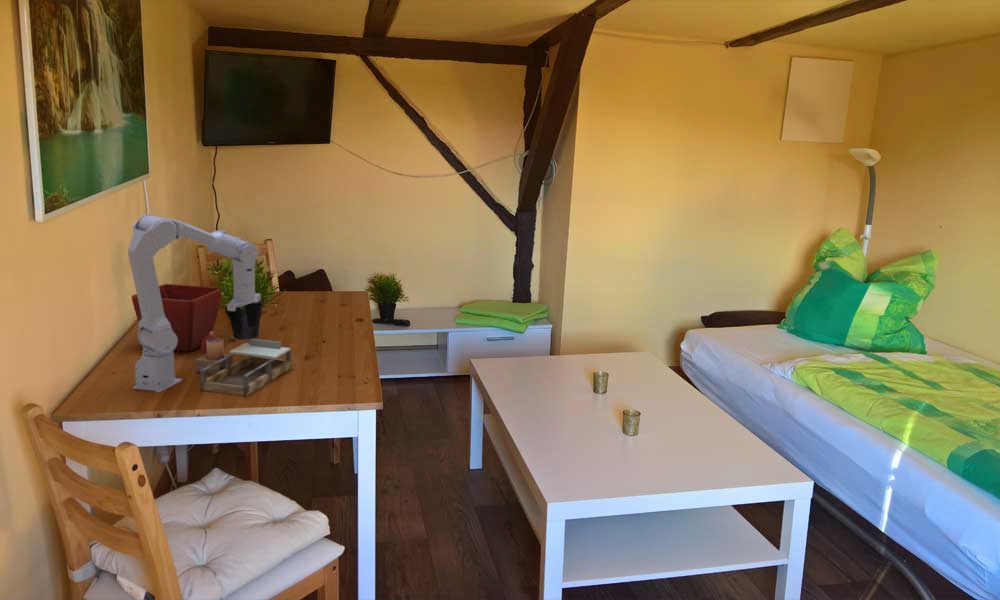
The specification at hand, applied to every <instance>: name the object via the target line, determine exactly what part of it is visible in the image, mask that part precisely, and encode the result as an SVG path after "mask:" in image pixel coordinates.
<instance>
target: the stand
mask: <svg viewBox="0 0 1000 600" xmlns="http://www.w3.org/2000/svg"><path fill="white" fill-rule="evenodd" d="M229 355H230V354H225V353H224V358H225V357H227V356H229ZM233 359H234V358H233V356H231V357H230V363H231V365H232V364H234V363H233V362H234V361H233ZM220 360H221V359H220ZM194 361H195V362H194V364H195V365H194V366H195V373H199V374H200V371H201V370H202V369H204V368H206V367H208V366H210V365H212V364H214V363H216V362H217V361H219V360H209V359H207V354H206V355H205V354H204V355H202V356H199V357H198V358H196V359H195V360H194ZM223 369H225V360H224V361H222V362H220V363H218V364H216V365H214V366H213V367H211V368H209V369H207V370H206V375H214V374H216V373H218V372H219V371H221V370H223Z"/></svg>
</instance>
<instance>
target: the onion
mask: <svg viewBox="0 0 1000 600" xmlns="http://www.w3.org/2000/svg"><path fill="white" fill-rule="evenodd" d="M212 338H220V337H219V336H218V335H216V334H215V332H214V330H213V331H212V332H210V333H209V335H208V336H206V337H205V338H204V339H203V341H202V344H201V346H200V349H201V351H202V353H203V354H204V355H206V354H207V345H206V340H208V339H212Z"/></svg>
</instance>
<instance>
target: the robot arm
mask: <svg viewBox="0 0 1000 600" xmlns="http://www.w3.org/2000/svg"><path fill="white" fill-rule="evenodd" d="M182 238H187V239H189V240H193V241H196V242H198V243H202V244H205V245H206V247H207V248H208V251H209V252H213V253H216V254H218V255H221V256H224V257H227V258H229V259H231V260H232V275H233V276H232V279H233V280H232V281H233V285H232V287H233V289H232V290H233V298H232V299H231V301H229V302H228V303H227V304H226V306H227V308H225V309H224V313H225V314H226V316H227V318H228V319H229V321H230V325H231V327H232V330H233V331H232V332H233V333H234V334H238V335H242V333H243V332H244V331H243V330H244V329H243V328H244V321H245V320H244V319H245V316H246V323H247V326H248V327H251V328H256V327H257V324H258V321H259V320H258V319H259V316H260V313H261V310H262V308H263V306H264V301H261V300H262V299H261V297H262V296H261V295H262V294H261V293H256V280H255V279H256V278H255V277H256V276H255V273H256V271H255V269H256V268H255V267H256V261H257V260H258V258H259V253H260V252H259V251H258V250H257V246H255V244H254V243H252V242H250V241H246V240H242V239H243V238H242V237H240V236H232V235H230V234H228V231H226V230H222V229H220V230H215V231H213V232H211V233H210V232H208V231H207V230H203V229H201V228H198V227H196V226H194V225H191V224H189V223H187V222H183V221H180V220H175V219H171V218H167V217H162V216H159V217H158V216H155V215H153V214H144V215H141V216H140V218H138V219H137V221H136V222H135V223H133V225H132V236H131V238H130V242H129V246H128V249H127V255H128V260H129V264H130V269H131V273H132V278H133V283H134V287H135V292H136V294H137V297H138V302H139V306H140V311H141V315H142V319H141V320H140V321H138V333H137V340H138V342H139V344H140V345H141V346H142V356H141V358H140V359H138V360H137V361H136V362H135V365H134V375H135V385H134V386H133V387H132V388H133V390H139V391H142V390H143V391H148V392H149V391H152V392H156V393H157V392H158V393H160V392H163V391H165V390H167V389H168V388H171V387H172V386H175V385H176V384H178V383H180V382H182V381H183V379H182V378H177V377H176V375H175V374H176V373H175V354H174V351H175V350H174V349H175V348H176V346H177V343H178V339H177V336H176V334H175V333H174V332H173V331H172V328H171V324H170V323H169V321H168V320H167V318H166V317H165V314H164V309H163V304H162V299H161V295H160V290H159V286H160V284H159V281H158V277H157V271H156V266H155V262H154V257H155V256H156V254H157V253H158V252H159V251H160V250H162V249H163V248H164V247H165V248H166V246H168V245H169V244H171V243H172V242H173V241H174V240H175V239H176V240H180V239H182ZM242 307H244V309H241V308H242Z"/></svg>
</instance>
